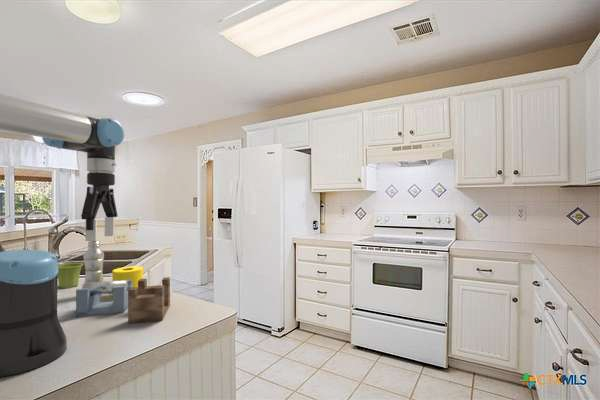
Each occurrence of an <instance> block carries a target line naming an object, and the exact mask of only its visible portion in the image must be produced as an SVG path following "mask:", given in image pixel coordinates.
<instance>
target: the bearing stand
mask: <svg viewBox="0 0 600 400" xmlns="http://www.w3.org/2000/svg"><path fill="white" fill-rule="evenodd" d="M147 283H148V279H147V278H143V279H140V280H139V281H138V287H131V288H130V289H129V290H128V308H127V325H129V324H139V323H141V324H142V323H149V322H151V323H153V322H160V321H163V319H165V316H166V314H167V313H168V311H169V309H170V306H171V276H170V277H169V276H168V277H163V278H162V279H161V284H160V285H159V284H158V285H148V284H147Z"/></svg>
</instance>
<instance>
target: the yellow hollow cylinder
mask: <svg viewBox="0 0 600 400" xmlns="http://www.w3.org/2000/svg"><path fill="white" fill-rule="evenodd" d="M140 279H144V267H143V266H140V265H139V266H138V265H137V266H135V265H133V266H123V267H118V268H115V269H113V270H112V281H120V280H132V287H138V281H139V280H140Z"/></svg>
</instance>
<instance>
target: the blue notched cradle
mask: <svg viewBox="0 0 600 400" xmlns="http://www.w3.org/2000/svg"><path fill="white" fill-rule="evenodd" d="M128 284H129V285H128V290H129V289H130V288H131V287H132V280H128ZM75 293H76V294H75V316H76V317H84V316H85V317H86V316H97V315H98V316H99V315H110V314H121V313H125V312H126V311H128V291H127V293H126V290H125V286H118V287H113V294H112V301H105V302H104V301H103V302H102V301H101V302H100V295H90V292H89V288H86V289H82V288H77V289H76V290H75Z"/></svg>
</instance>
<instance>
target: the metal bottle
mask: <svg viewBox="0 0 600 400" xmlns="http://www.w3.org/2000/svg"><path fill="white" fill-rule="evenodd" d="M87 247H88V249H86V251H85V252H84V254H83V256H82V257H83V262H84V263H83V265H84V270H85V275H84V276H85V277H84V283H87V282H104V275H103V274H104V273H103V272H104V271H103V270H104V269H103V267H104V260H105V253H104V251H103V249H102V248H101V241H100V240H97V241H87Z"/></svg>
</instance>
